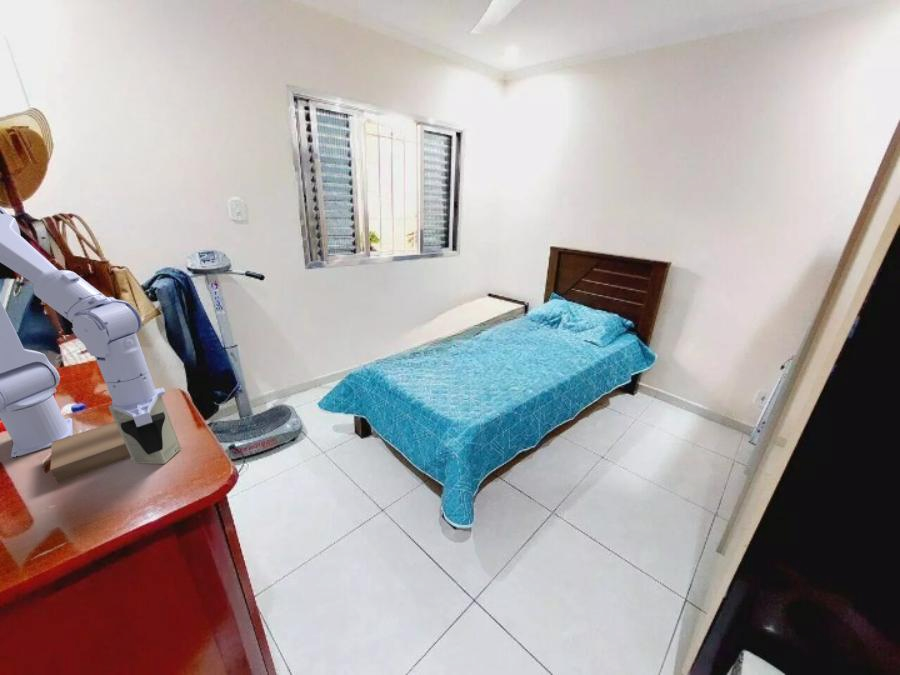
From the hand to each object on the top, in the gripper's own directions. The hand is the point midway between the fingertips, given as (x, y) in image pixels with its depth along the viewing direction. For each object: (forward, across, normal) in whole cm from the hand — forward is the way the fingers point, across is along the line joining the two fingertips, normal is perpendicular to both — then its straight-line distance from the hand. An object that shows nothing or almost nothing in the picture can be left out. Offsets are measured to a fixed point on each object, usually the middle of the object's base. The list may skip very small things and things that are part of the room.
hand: (151, 441), depth 65 cm
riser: (+3, +8, +8) cm, 12 cm away
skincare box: (+4, 0, 0) cm, 4 cm away
